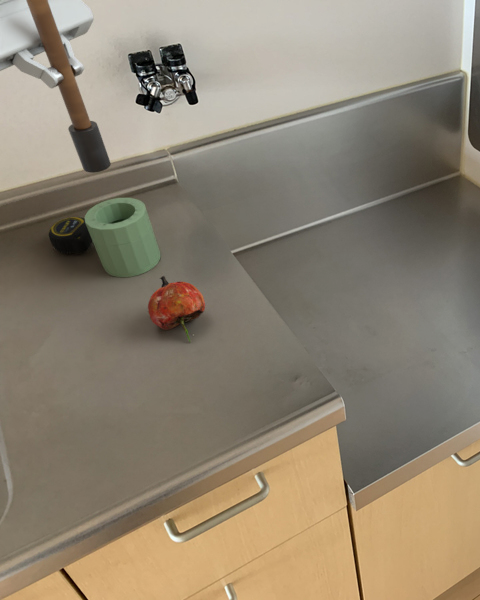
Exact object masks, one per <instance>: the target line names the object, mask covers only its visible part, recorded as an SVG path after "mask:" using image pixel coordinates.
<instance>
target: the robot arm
mask: <svg viewBox="0 0 480 600" xmlns="http://www.w3.org/2000/svg"><path fill="white" fill-rule="evenodd" d="M48 3H49V6H50V8H51V11H52V14H53V17H54V20H55V23H56V25H57V28H58V31H59V34H60V37H61V40H62V42H63V45H64V48H65V51H66V54H67V57H68V60H69V62H70V65H71V68H72V71H73V74H74V77H75V78H76V77H78V76H80V75H82V74H83V72H84V70H85V66H84V65H83V63H82V62H81V61H80V60H78V58H77V57H76V56H75V53H74V50H73V47H72V44H71V42H70V41H72V40H75V39H77V38H79V37H81V36H84V35H86V34H87V33H88V32H89V30H90V28H91V26H92V25H93V23H94V20H95V19H94V18H95V17H94V14H93V10H92V8H91V7H90V6H89V5H87V4H86V2H84V1H83V0H48ZM42 53H46V52H45V49H44V47H43V44H42V41H41V39H40V36H39V33H38V31H37V28H36V25H35V23H34V20H33V17H32V15H31V12H30V9H29V7H28V4H27V1H26V0H0V72H2V71H4V70H7V69H8V68H10V67H13V66H15V67H16V68H17V69H18V70H19V71H20V72H21V73H24V74H26V75H28V76H31V77H33V78H36V79H38V80H40V81H41V82H43V83H44V84H45V85H46V86H47V87H48V88H49V89H54V88H56V87H58V85H60V84H61V83H62V81H63V79H64V77H63V75H62V74H61V73H59V72H58V70H57V69H56V68H54V67H53V66H52V67H51V66H50V67H47V66H46V65H44V64H41V62H38V61H37V60H34V58H35V57H36V56H38V55H40V54H42Z"/></svg>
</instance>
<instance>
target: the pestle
mask: <svg viewBox="0 0 480 600" xmlns="http://www.w3.org/2000/svg"><path fill="white" fill-rule="evenodd" d="M26 1H27V4H28V7H29V9H30V12H31V15H32V17H33V20H34V23H35V25H36V28H37V31H38V33H39V36H40V39H41V41H42V44H43V47H44V49H45V52H44V53H45V55H46V57H47V60H48V63H49V66H50V67H52V66H53V67H54V68H56V69H57V70H58V72H59V73H61V74H62V75H63V77H64V79H63V81H62V83H61V84H60V85H58V86H57V87H58V90H59V92H60V96H61V98H62V101H63V103H64V106H65V108H66V111H67V114H68V116H69V119H70V121H71V124H70V125H69V126H68V129H67V130H68V132H69V135H70V138H71V140H72V143H73V146H74V148H75V150H76V153H77V156H78V158H79V161H80V164H81V166H82V169H83V170H84V172H86V173H90V174H91V173H93V174H94V173H95V174H96V173H100V172H104V171H106V170H107V169H109V168H110V167H111V165H112V164H111V163H112V162H111V160H110V157H109V154H108V151H107V149H106V145H105V142H104V140H103V136H102V134H101V132H100V129H99V128H100V127H99V125H98V123H97V122H96V121H94V120H91V119H90V117H89V114H88V111H87V108H86V105H85V102H84V100H83V96H82V94H81V90H80V88H79V86H78V82H77V79H76V77H74V74H73V71H72V68H71V65H70V62H69V60H68V57H67V54H66V51H65V48H64V45H63V42H62V40H61V37H60V34H59V31H58V28H57V25H56V23H55V20H54V17H53V14H52V11H51V8H50V6H49V3H48V0H26Z"/></svg>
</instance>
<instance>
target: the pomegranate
mask: <svg viewBox="0 0 480 600" xmlns="http://www.w3.org/2000/svg"><path fill="white" fill-rule="evenodd" d="M159 279H160V281H161V282H162V284H161V287H159V288H158V289H156V290H155V291H154V292H153V293H152V294H151V296H150V298H149V301H148V304H147V309H148V311H147V312H148V314H149V318H150V320H151V322H152V323H153V325H155V326H157V327H159V328H161V329H162V330H166V331H169V330H173V329H174V328H176V327H177V326H179V325H180V324H181V326H182V329H183V330H184V332H185V335H186V337H187V340H188V341H189V343H191V337H190V335H189V330H188V329H187V327H186V326H185V323H186V322H191V321H193V320H195V319H198V318H200V316H201V315H202V314H203V313H204V311H205V309H206V302H205V298H204V296H203V294H202V292H201V291H200V290H199V288H197V287H196V286H195V285H194V284H191V283H189V282H186V281H181V280H180V281H176V282H168V281H167V279H166V277H165V276H164V275H163V276H160V277H159Z"/></svg>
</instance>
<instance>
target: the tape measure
mask: <svg viewBox="0 0 480 600" xmlns="http://www.w3.org/2000/svg"><path fill="white" fill-rule="evenodd" d="M48 238H49V242H50V243H51V246H52V247H53V249H54V250H55V251H57V252H58V253H62V254H65V255H66V254H69V255H70V254H76V253H85V252H87V251H89V249H90V247H91V245H92V243H93V241H92V238H91V236H90V233H89V231H88V228H87V226H86V223H85V217H80V216H72V217H66V218H62V219H60V220H58V221H56V222H55V223H53V224H52V225H51V226H50V228H49V230H48Z"/></svg>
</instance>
